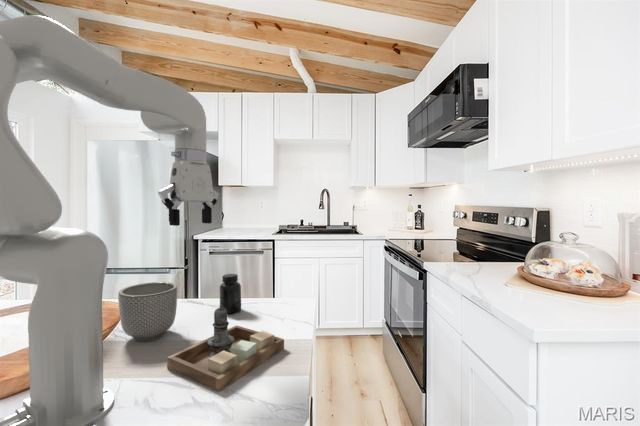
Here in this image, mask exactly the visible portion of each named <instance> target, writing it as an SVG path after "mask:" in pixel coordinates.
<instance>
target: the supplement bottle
mask: <svg viewBox="0 0 640 426" xmlns="http://www.w3.org/2000/svg"><path fill="white" fill-rule="evenodd" d="M238 281H239V280H238V274H237V273H227V274H224V275H222V283H221V284H220V285H219V305H220V304H221V305H222V307H223V308H225V309H226V310H227V315H233V314H237V313H240V311H241V310H242V285H241V283H240V282H238Z"/></svg>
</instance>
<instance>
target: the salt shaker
mask: <svg viewBox="0 0 640 426" xmlns="http://www.w3.org/2000/svg"><path fill="white" fill-rule="evenodd" d="M213 314H214V315H213V323H212V327H213V335H212V336H213V337H212V336H211V337H212V338H210V337H209V338H210V339H209V340H208V342H207V343H208V345H209V348H210V350H211V351H212V353H211V354H210V355H209V358H210V357H212V356H214V355H216V354H218V353H220V352H222V351H226V352H229V353H231V350H229V349H230V348H231V346H232V344H233V341H234V337H232V336H230V335H228V329H229V328H228V326H229V325H230V323H229V322H228V314H227V310H226V309H225V308H223V307H222V305H221V304H220V303H219V305H218V308H216V309H215V310H214V313H213Z"/></svg>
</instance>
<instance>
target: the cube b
mask: <svg viewBox="0 0 640 426" xmlns="http://www.w3.org/2000/svg"><path fill="white" fill-rule="evenodd" d="M231 353H232V354H235V355H237V364H239V363H241V362H242V361H244V360H246V359H247V358H249V357H251V356H252V355H254V354H256V353H257V343H254V342H249V341H243V340H241V341H240V342H238V343H237V344H235V345H234V346H232V347H231Z"/></svg>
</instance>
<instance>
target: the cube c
mask: <svg viewBox="0 0 640 426" xmlns="http://www.w3.org/2000/svg"><path fill="white" fill-rule="evenodd" d="M274 336H275V334H273V333H271V332H268V331H265V330H261V331H258V333H256V334H253V335H251V336H250V342H254V343H257V352H259V351H260V350H262V349H264V348H265V347H267V346H269V345H270V344H272V343H274Z"/></svg>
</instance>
